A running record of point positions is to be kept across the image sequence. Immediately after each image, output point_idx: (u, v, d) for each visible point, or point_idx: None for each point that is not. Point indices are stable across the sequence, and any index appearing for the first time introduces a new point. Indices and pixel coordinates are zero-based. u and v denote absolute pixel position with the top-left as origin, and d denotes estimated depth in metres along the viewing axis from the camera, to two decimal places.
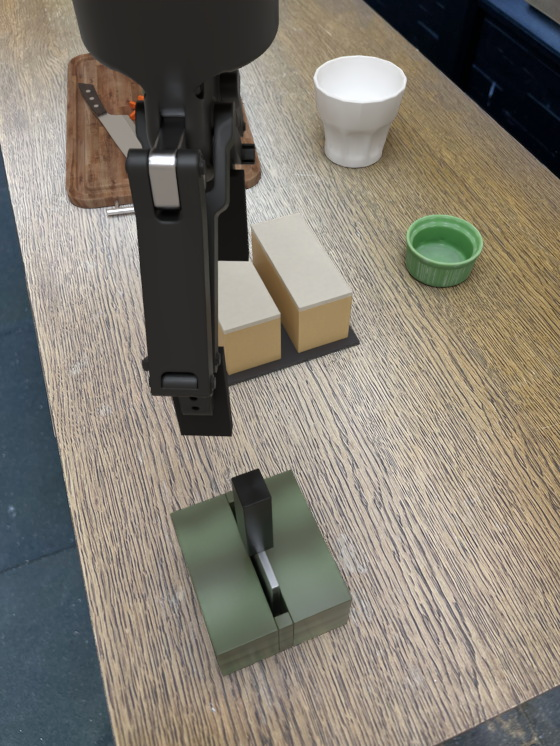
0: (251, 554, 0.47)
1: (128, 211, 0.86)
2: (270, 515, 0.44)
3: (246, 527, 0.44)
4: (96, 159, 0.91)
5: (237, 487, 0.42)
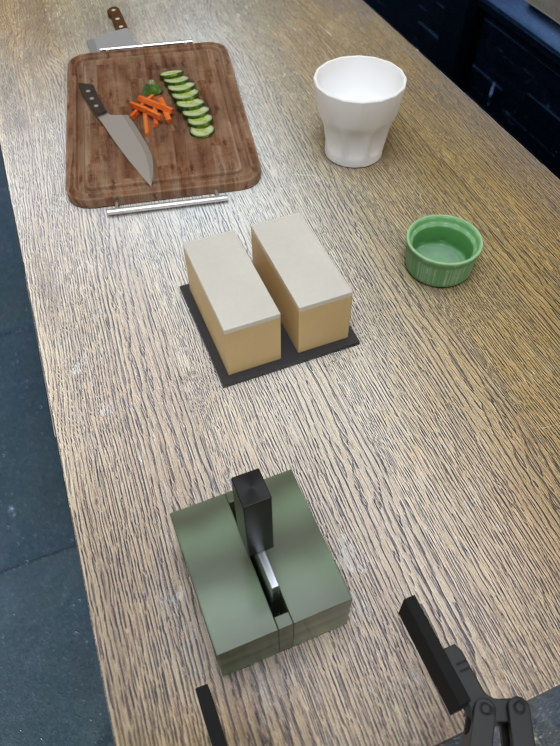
0: (251, 554, 0.47)
1: (128, 211, 0.86)
2: (270, 515, 0.44)
3: (246, 527, 0.44)
4: (96, 159, 0.91)
5: (237, 487, 0.42)
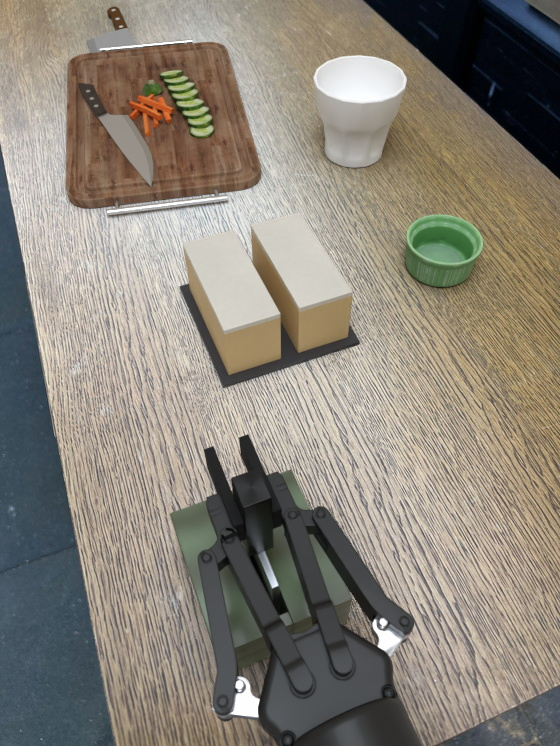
0: (251, 554, 0.47)
1: (128, 211, 0.86)
2: (270, 515, 0.44)
3: (246, 527, 0.44)
4: (96, 159, 0.91)
5: (237, 487, 0.42)
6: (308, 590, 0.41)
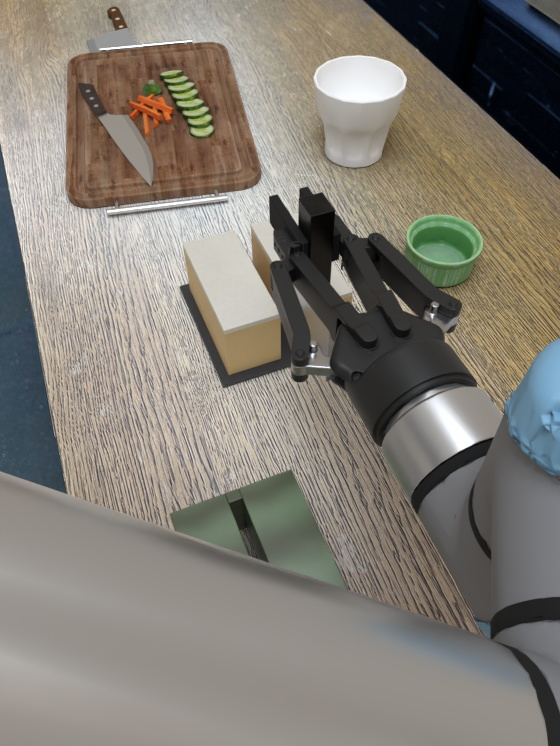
0: None
1: (128, 211, 0.86)
2: (332, 236, 0.50)
3: (310, 247, 0.50)
4: (96, 159, 0.91)
5: (304, 204, 0.48)
6: (368, 285, 0.47)
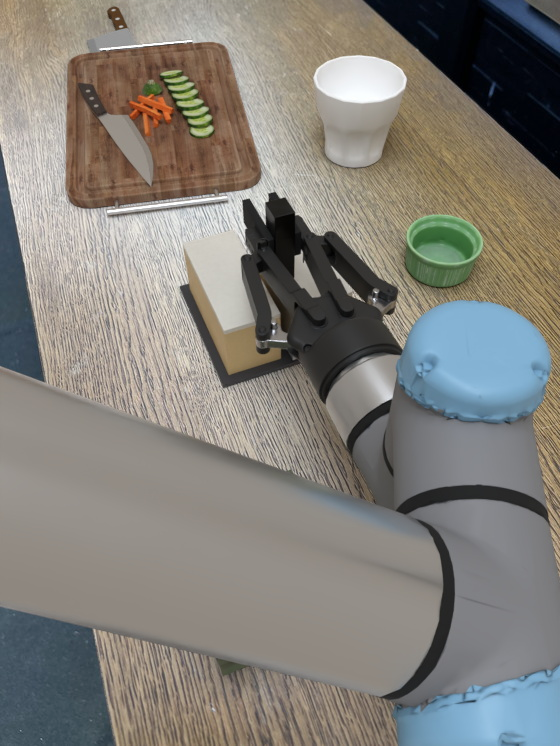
0: None
1: (128, 211, 0.86)
2: (293, 234, 0.59)
3: (275, 243, 0.59)
4: (96, 159, 0.91)
5: (270, 207, 0.58)
6: (321, 274, 0.56)
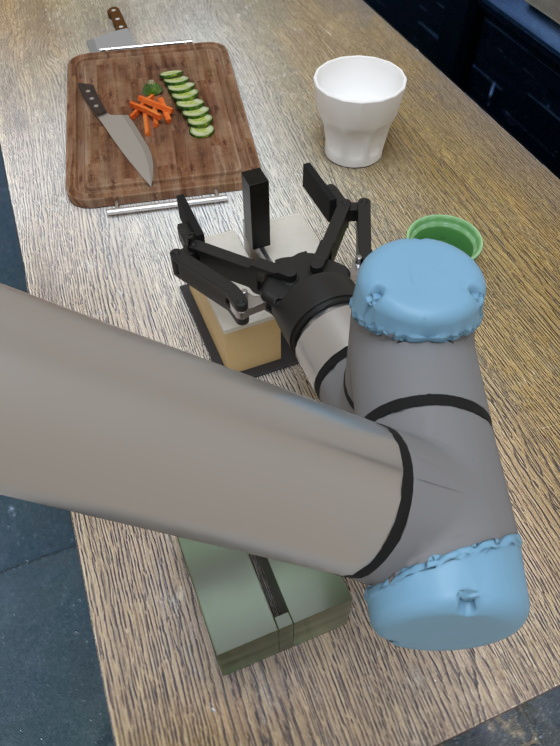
0: (254, 247, 0.67)
1: (128, 211, 0.86)
2: (268, 202, 0.64)
3: (251, 210, 0.64)
4: (96, 159, 0.91)
5: (245, 176, 0.62)
6: (325, 234, 0.60)
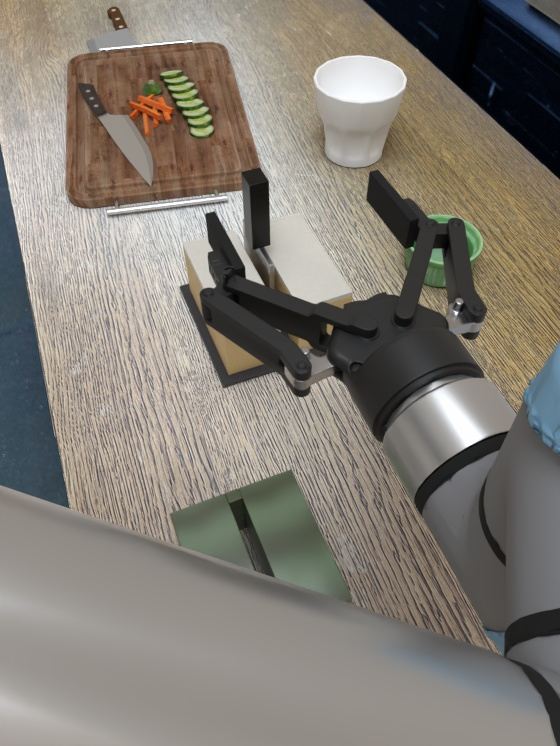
0: (254, 247, 0.67)
1: (128, 211, 0.86)
2: (268, 202, 0.64)
3: (251, 210, 0.64)
4: (96, 159, 0.91)
5: (245, 176, 0.62)
6: (409, 268, 0.44)
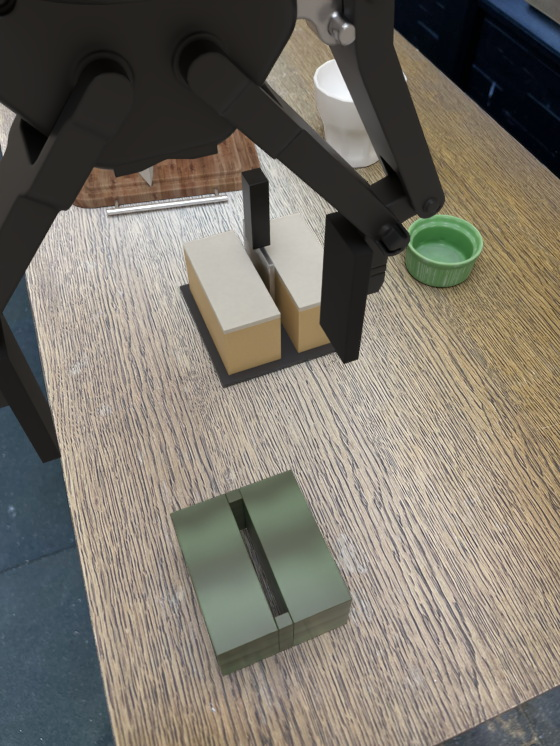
0: (254, 247, 0.67)
1: (128, 211, 0.86)
2: (268, 202, 0.64)
3: (251, 210, 0.64)
4: None
5: (245, 176, 0.62)
6: None
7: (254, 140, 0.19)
